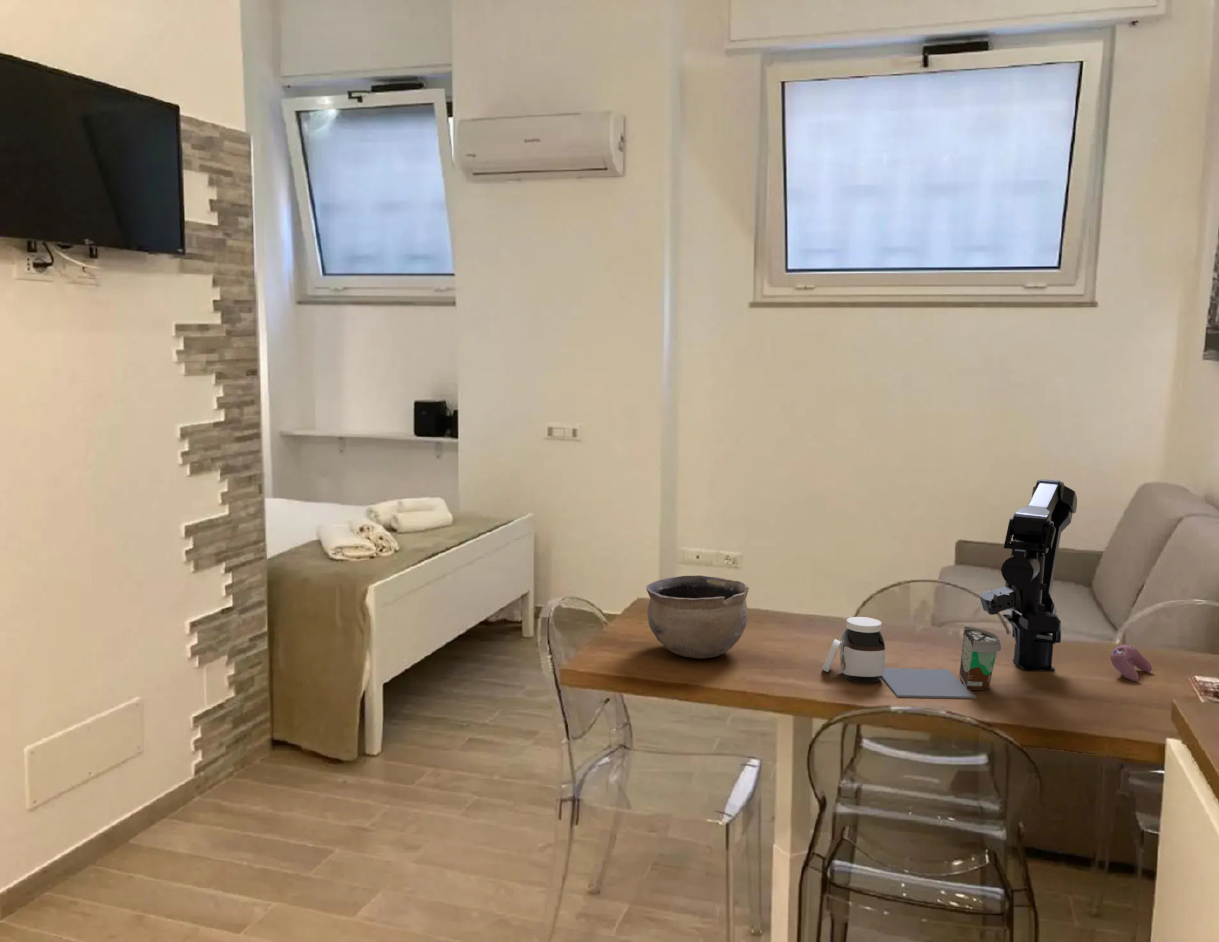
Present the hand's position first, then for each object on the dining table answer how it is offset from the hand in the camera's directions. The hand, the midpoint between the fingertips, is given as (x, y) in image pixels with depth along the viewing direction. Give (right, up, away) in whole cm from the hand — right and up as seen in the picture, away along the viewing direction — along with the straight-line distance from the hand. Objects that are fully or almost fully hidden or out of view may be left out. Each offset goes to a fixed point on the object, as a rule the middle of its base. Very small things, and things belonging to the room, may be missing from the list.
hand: (1021, 653), depth 193 cm
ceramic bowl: (-63, -3, +18) cm, 66 cm away
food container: (-8, -6, +1) cm, 10 cm away
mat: (-19, -6, +1) cm, 20 cm away
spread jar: (-33, -6, +5) cm, 33 cm away
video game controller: (+26, -6, +9) cm, 29 cm away
